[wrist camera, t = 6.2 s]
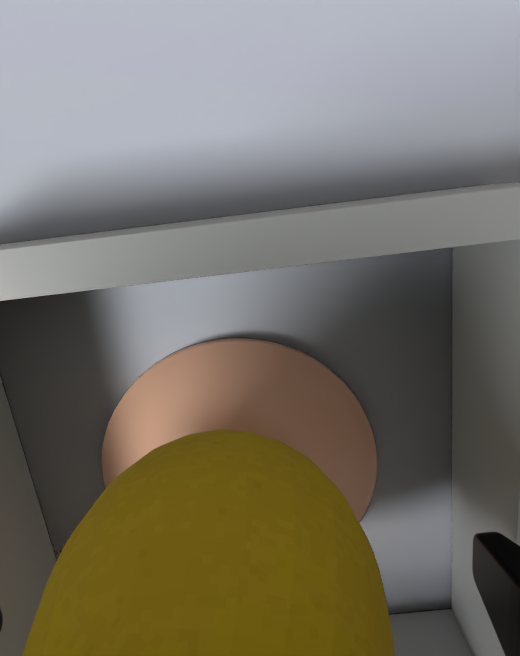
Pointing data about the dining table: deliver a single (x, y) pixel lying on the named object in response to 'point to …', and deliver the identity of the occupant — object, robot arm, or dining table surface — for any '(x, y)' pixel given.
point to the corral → (296, 377)
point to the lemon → (216, 561)
